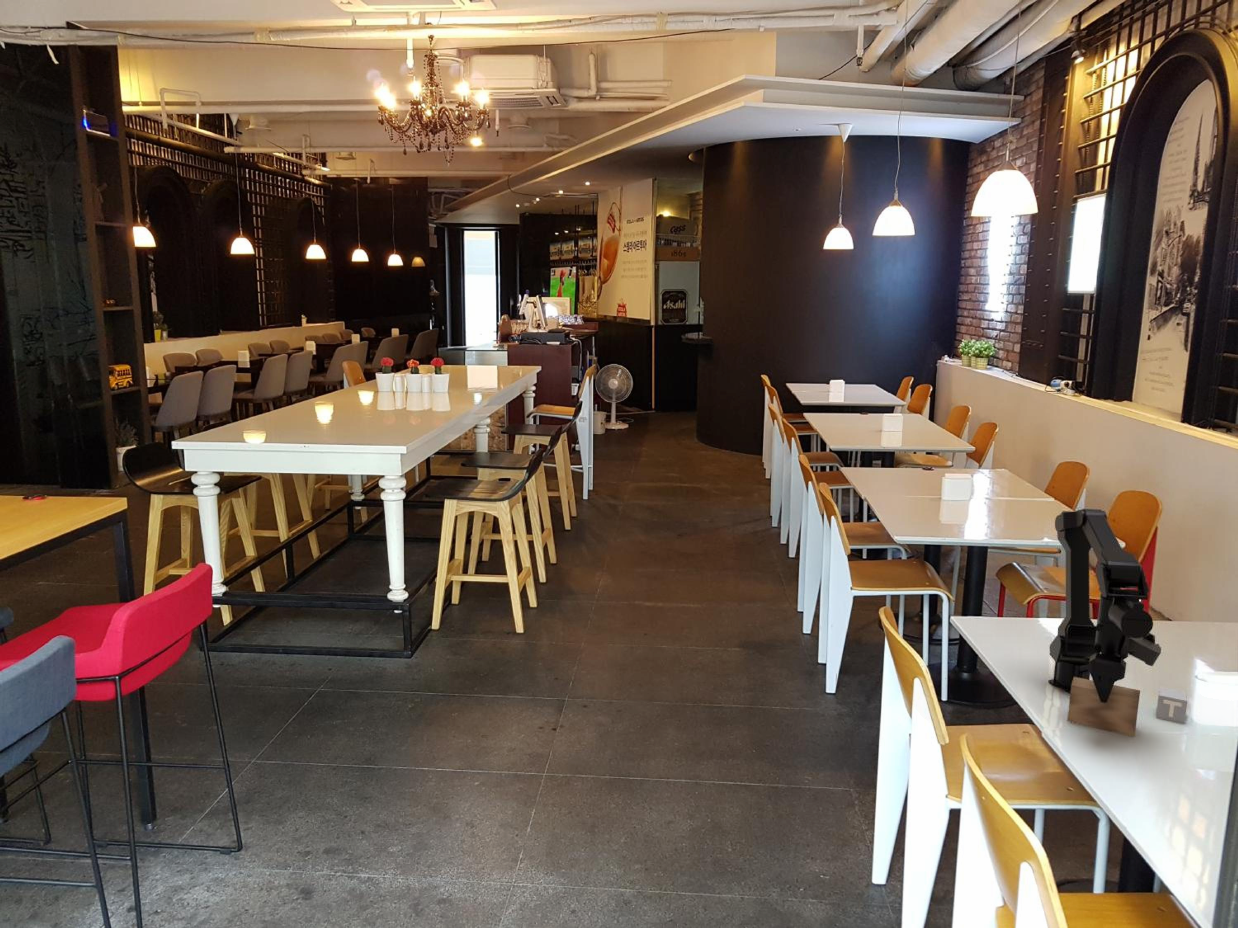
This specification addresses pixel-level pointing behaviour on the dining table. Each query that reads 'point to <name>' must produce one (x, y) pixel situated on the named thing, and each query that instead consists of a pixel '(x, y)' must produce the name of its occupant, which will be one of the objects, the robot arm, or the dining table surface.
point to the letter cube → (1171, 705)
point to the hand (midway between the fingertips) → (1105, 693)
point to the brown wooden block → (1104, 707)
